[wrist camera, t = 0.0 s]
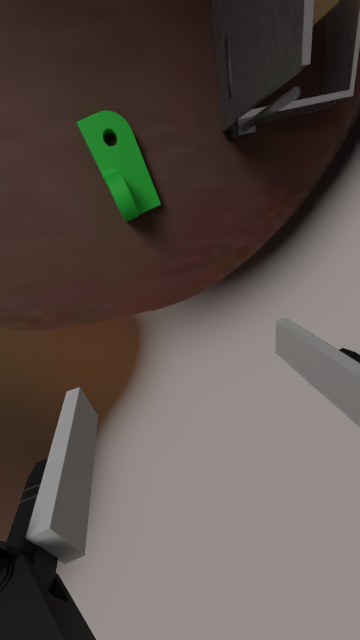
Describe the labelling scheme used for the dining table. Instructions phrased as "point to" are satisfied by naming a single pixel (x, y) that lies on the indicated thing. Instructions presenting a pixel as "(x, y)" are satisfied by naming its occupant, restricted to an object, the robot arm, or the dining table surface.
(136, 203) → the mechanical part
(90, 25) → the dining table surface
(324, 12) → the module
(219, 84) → the case
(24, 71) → the dining table surface
